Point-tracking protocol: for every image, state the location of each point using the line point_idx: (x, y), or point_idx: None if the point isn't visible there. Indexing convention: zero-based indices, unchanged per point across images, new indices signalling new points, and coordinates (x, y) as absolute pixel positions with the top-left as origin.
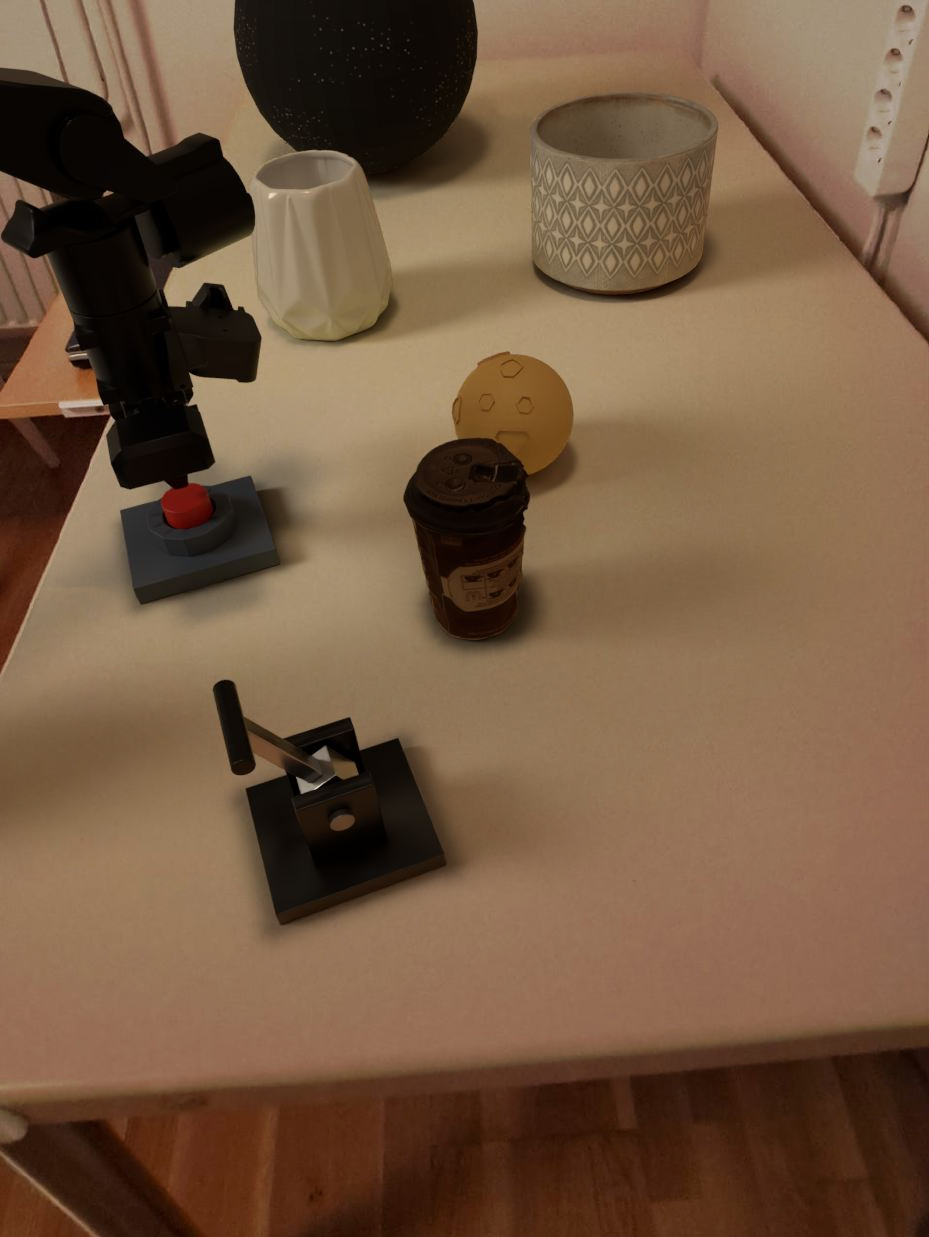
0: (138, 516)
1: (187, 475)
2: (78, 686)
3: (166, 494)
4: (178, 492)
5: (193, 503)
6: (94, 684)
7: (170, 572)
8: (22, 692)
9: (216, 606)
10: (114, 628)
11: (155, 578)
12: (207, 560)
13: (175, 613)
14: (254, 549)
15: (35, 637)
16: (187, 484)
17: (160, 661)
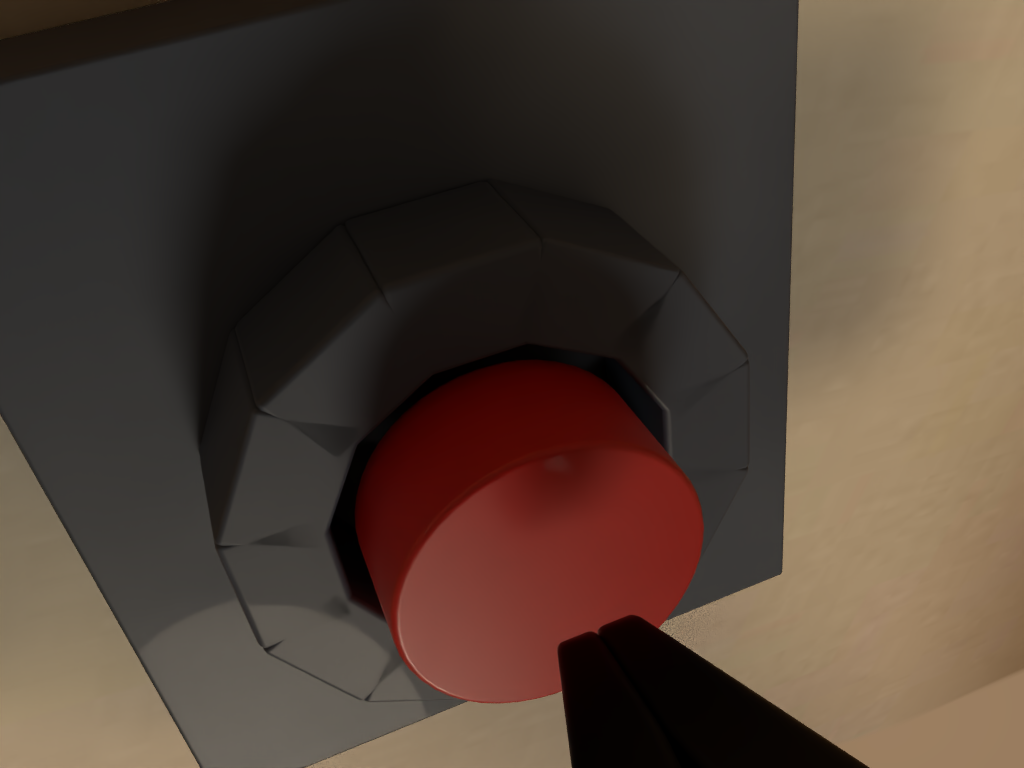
0: (292, 712)
1: (724, 675)
2: (978, 577)
3: (497, 690)
4: (495, 631)
5: (642, 511)
6: (995, 540)
7: (754, 461)
8: (924, 695)
9: (866, 216)
10: (806, 559)
11: (761, 510)
12: (742, 309)
13: (829, 377)
14: (762, 42)
15: None
16: (649, 624)
17: (1017, 376)
